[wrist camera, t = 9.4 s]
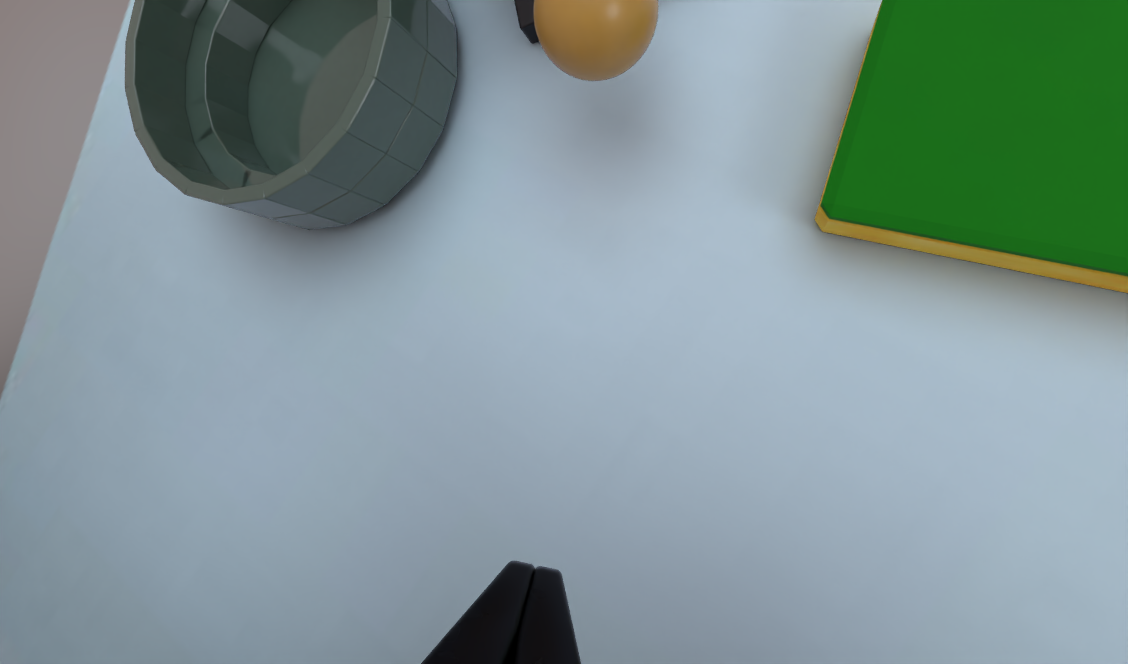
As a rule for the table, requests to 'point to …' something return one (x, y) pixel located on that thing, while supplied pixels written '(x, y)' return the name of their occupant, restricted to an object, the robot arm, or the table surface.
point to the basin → (290, 100)
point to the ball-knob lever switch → (526, 18)
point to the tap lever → (595, 34)
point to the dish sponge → (991, 137)
